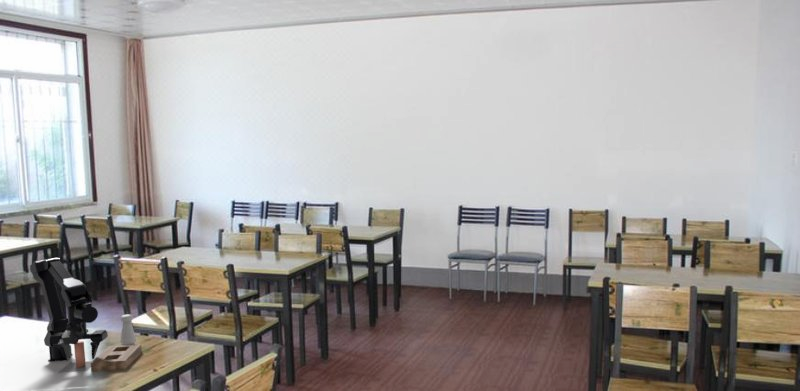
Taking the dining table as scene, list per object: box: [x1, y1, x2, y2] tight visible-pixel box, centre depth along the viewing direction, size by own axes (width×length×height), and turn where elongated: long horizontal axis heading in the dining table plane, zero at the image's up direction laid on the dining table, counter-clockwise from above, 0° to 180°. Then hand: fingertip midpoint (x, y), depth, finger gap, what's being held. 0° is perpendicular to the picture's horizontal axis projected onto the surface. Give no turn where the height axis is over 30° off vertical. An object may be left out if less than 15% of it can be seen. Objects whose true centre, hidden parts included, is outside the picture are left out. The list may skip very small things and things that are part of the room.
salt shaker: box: [119, 313, 137, 345], centre depth 248 cm, size 6×6×13 cm
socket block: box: [90, 343, 143, 372], centre depth 231 cm, size 12×18×4 cm, turn 5°
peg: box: [73, 340, 87, 368], centre depth 226 cm, size 3×3×9 cm
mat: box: [57, 360, 93, 373], centre depth 227 cm, size 10×10×1 cm
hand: (80, 359), depth 227 cm, fingers open, 9 cm apart
